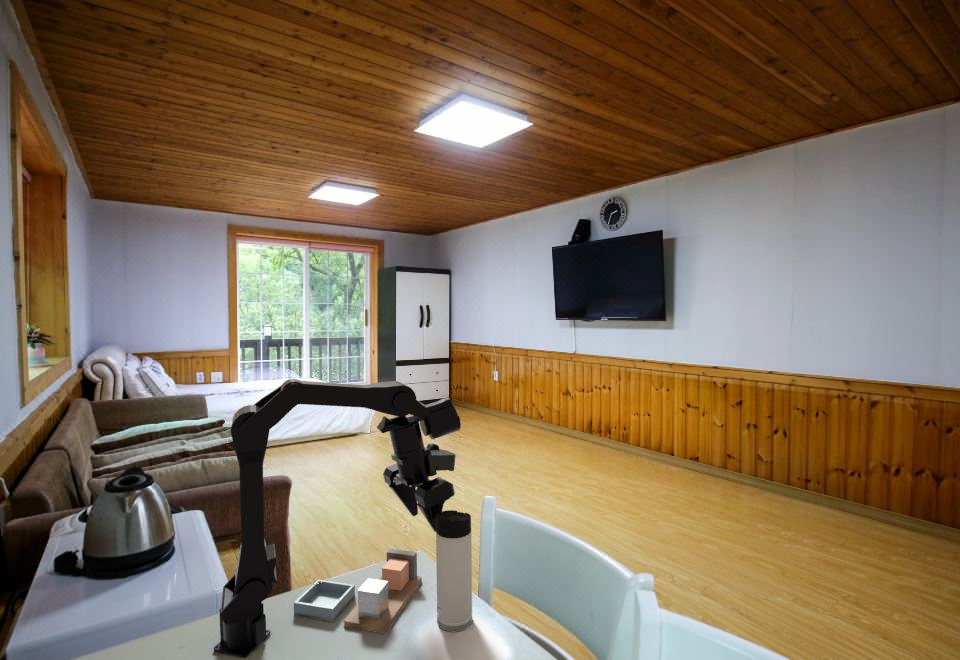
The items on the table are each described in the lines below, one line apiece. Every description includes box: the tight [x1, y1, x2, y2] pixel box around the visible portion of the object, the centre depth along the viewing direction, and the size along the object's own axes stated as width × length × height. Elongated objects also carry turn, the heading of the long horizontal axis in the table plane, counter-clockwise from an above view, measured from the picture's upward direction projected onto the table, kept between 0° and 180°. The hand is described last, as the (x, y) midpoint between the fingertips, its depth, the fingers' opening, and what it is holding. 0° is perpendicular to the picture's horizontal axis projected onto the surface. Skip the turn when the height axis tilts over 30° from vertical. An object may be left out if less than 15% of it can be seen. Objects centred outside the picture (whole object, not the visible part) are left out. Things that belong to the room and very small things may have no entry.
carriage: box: [357, 578, 389, 621], centre depth 92 cm, size 4×4×5 cm
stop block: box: [381, 558, 409, 591], centre depth 102 cm, size 4×4×4 cm
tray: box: [293, 579, 356, 624], centre depth 96 cm, size 8×8×2 cm
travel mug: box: [435, 509, 473, 633], centre depth 91 cm, size 6×7×20 cm
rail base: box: [343, 548, 423, 635], centre depth 97 cm, size 8×17×6 cm, turn 165°
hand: (425, 522), depth 99 cm, fingers open, 9 cm apart
